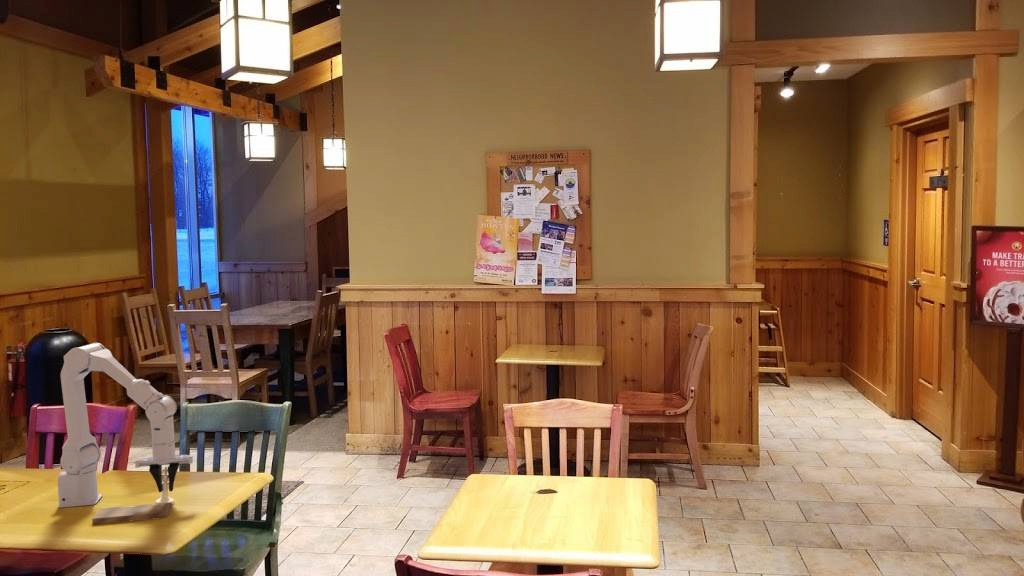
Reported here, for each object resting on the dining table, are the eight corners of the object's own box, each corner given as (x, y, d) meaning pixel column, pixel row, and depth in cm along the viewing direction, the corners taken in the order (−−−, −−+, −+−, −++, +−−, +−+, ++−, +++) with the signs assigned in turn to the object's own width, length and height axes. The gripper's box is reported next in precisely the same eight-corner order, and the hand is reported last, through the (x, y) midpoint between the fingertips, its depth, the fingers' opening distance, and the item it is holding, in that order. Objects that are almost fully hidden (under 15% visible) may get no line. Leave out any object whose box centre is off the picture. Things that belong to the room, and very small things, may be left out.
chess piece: (171, 506, 235) (172, 470, 234) (152, 505, 234) (153, 469, 234) (176, 500, 239) (177, 465, 239) (158, 500, 239) (159, 464, 238)
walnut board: (92, 524, 222) (92, 518, 222) (100, 513, 230) (99, 508, 230) (166, 517, 226) (166, 511, 226) (172, 507, 234) (171, 501, 233)
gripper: (131, 447, 230) (134, 497, 231) (189, 443, 233) (191, 492, 234) (137, 441, 237) (140, 489, 238) (193, 437, 240) (195, 484, 241)
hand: (166, 490), depth 237 cm, fingers closed on chess piece, 2 cm apart
